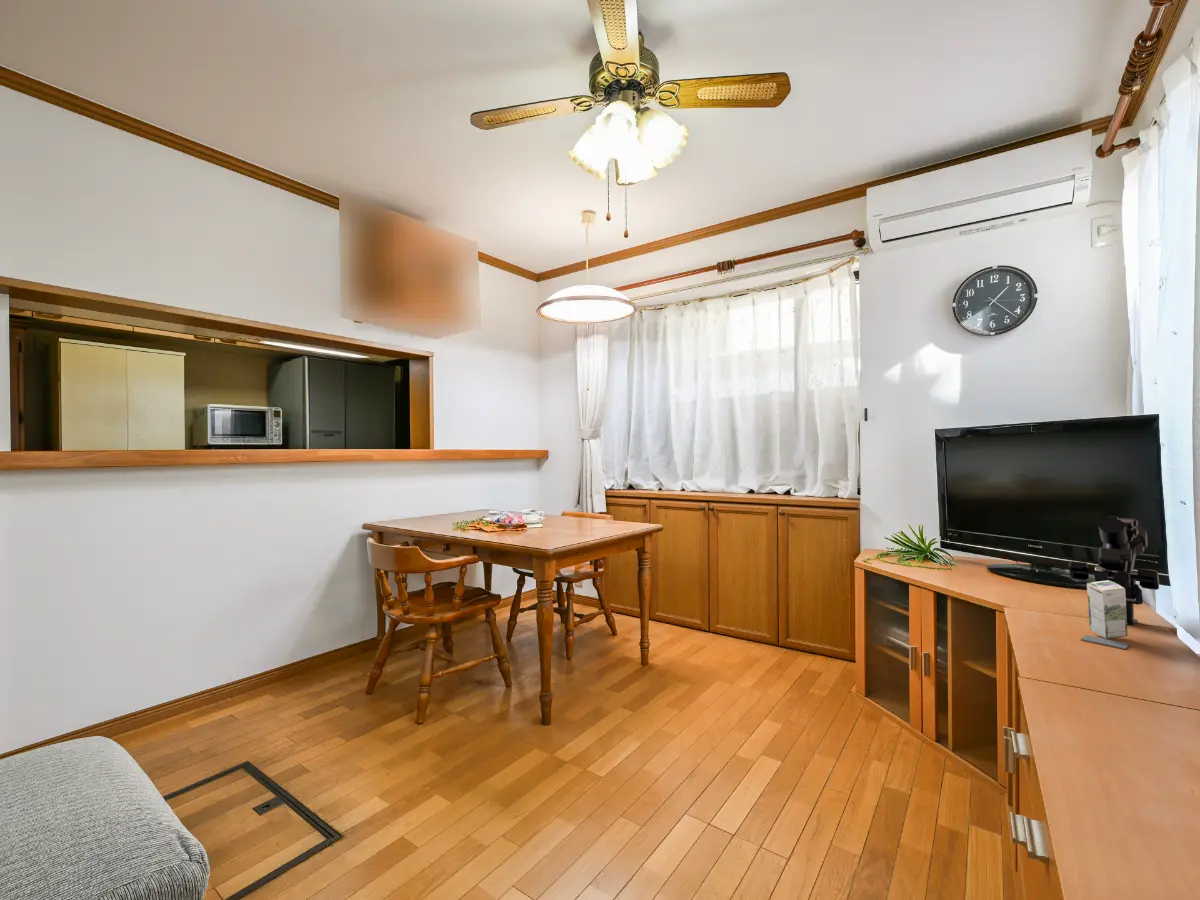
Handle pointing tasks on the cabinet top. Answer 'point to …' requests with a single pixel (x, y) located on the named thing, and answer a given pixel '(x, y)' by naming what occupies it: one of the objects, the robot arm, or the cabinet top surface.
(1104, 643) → the slate mat
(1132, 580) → the robot arm
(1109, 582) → the syrup box
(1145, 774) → the cabinet top surface
